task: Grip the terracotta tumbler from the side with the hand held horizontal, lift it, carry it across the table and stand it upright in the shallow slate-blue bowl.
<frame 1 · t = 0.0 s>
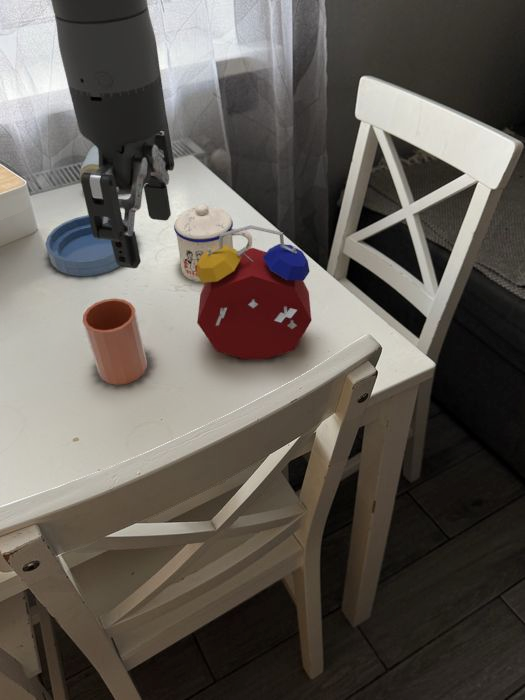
hand: (145, 240, 60), 25 cm above the table, tool pointing down, fingers open, 8 cm apart
alarm clock: (256, 354, 84), on the table
teacup with lid: (217, 270, 98), on the table
ceramic mug: (113, 189, 119), on the table
bowl: (94, 254, 102), on the table
cup: (123, 370, 82), on the table
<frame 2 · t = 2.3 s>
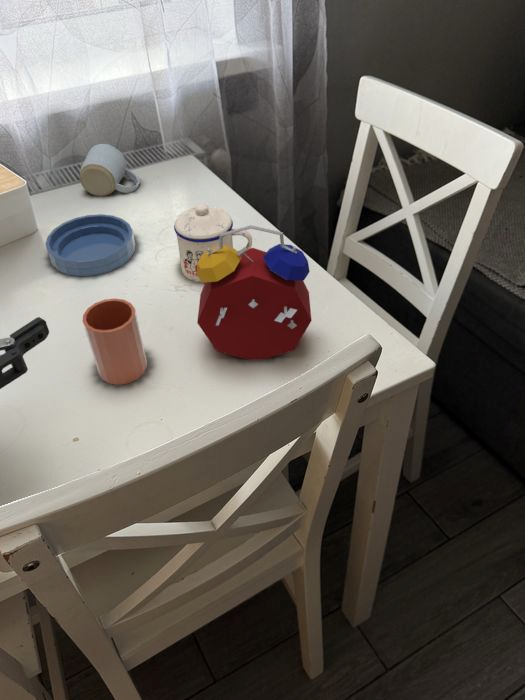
hand: (19, 309, 63), 18 cm above the table, tool horizontal, fingers open, 8 cm apart
nothing on the table moved.
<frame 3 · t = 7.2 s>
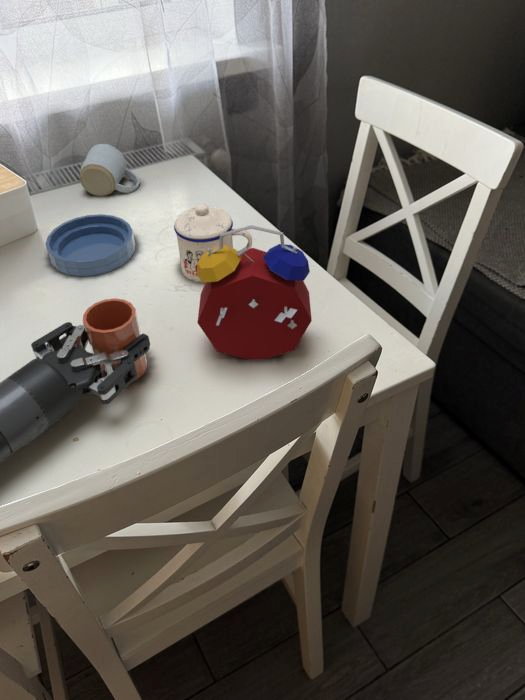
hand: (128, 328, 79), 6 cm above the table, tool horizontal, fingers closed on cup, 6 cm apart
cup: (123, 370, 82), on the table, touching gripper
everything else where it was.
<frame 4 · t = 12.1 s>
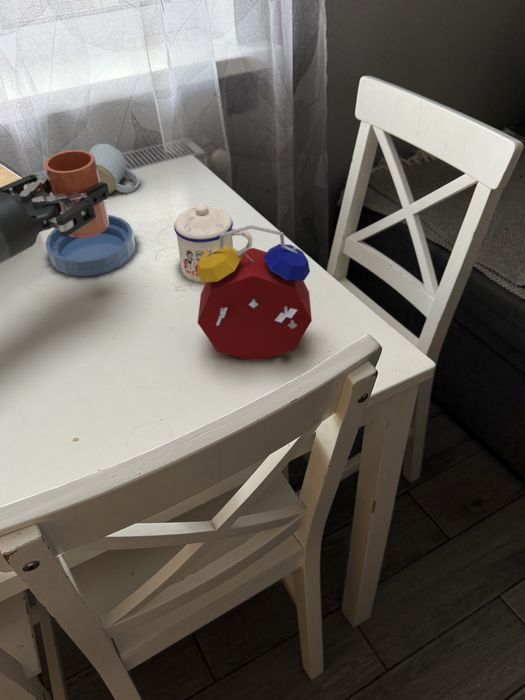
hand: (89, 181, 84), 18 cm above the table, tool horizontal, fingers closed on cup, 6 cm apart
cup: (86, 225, 86), point 12 cm above the table, touching gripper
everything else where it was.
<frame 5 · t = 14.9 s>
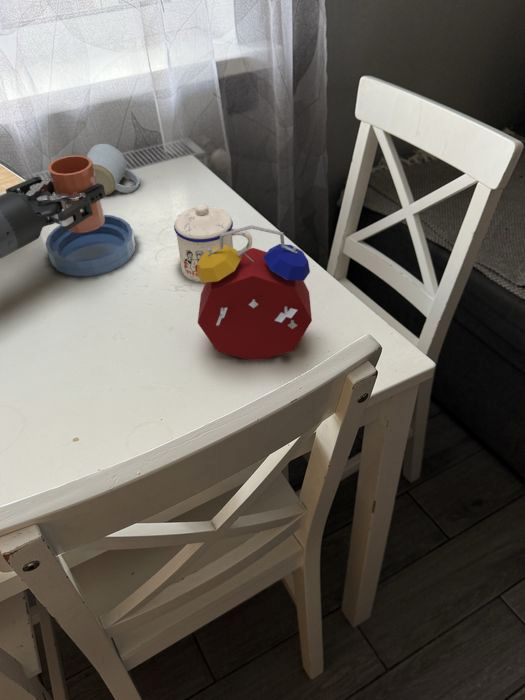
hand: (87, 183, 95), 12 cm above the table, tool horizontal, fingers closed on cup, 6 cm apart
cup: (84, 222, 97), point 6 cm above the table, touching gripper
everything else where it was.
when the fingers open (7 cm above the table, at t = 17.2 s): cup stays where it is, resting on bowl.
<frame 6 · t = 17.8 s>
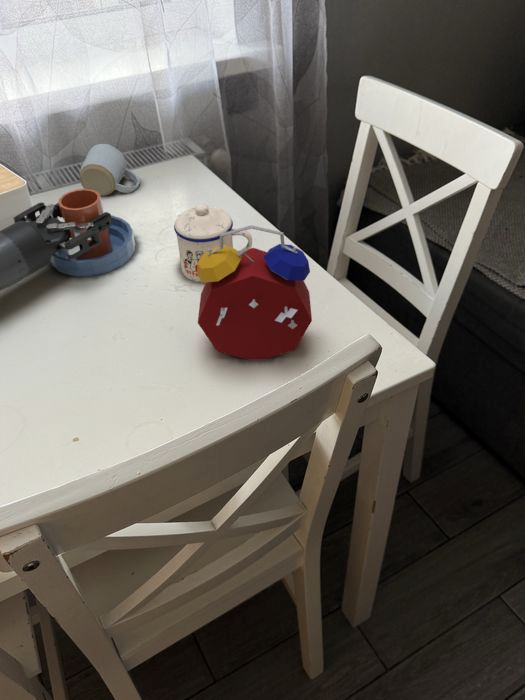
hand: (92, 209, 98), 8 cm above the table, tool horizontal, fingers open, 8 cm apart
cup: (93, 251, 102), point 1 cm above the table, touching bowl
everything else where it was.
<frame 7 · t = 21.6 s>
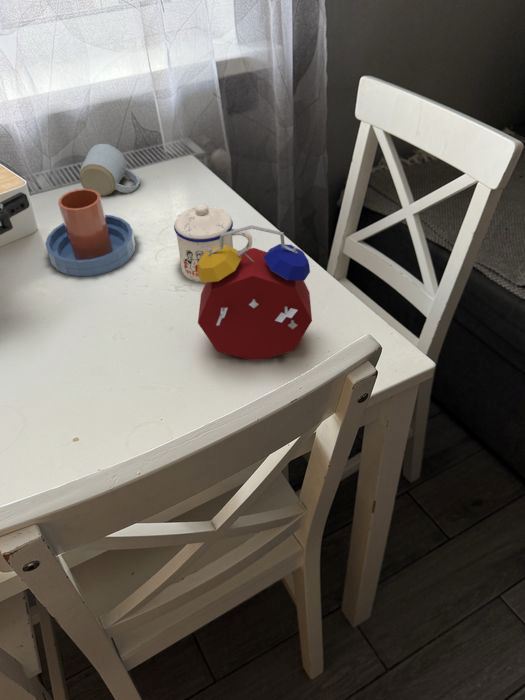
hand: (7, 189, 84), 17 cm above the table, tool horizontal, fingers open, 8 cm apart
nothing on the table moved.
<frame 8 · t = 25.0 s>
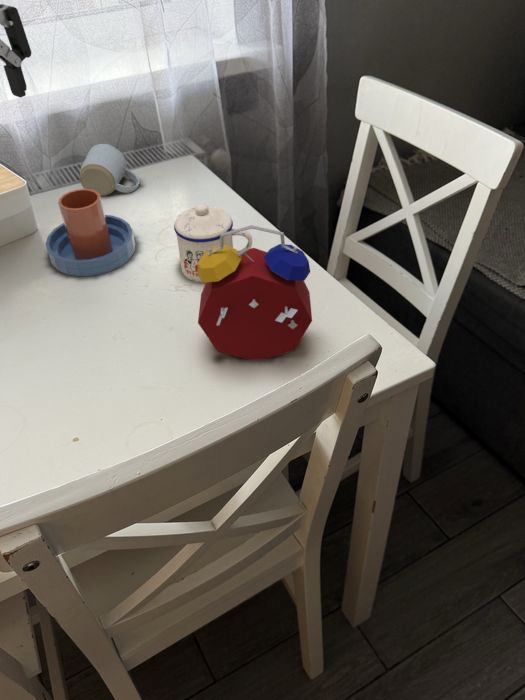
nothing on the table moved.
at the end: cup 0.1 cm off-centre in the bowl, point 0.6 cm above the bowl's base; cup tilted 0°; the gripper is holding nothing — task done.
